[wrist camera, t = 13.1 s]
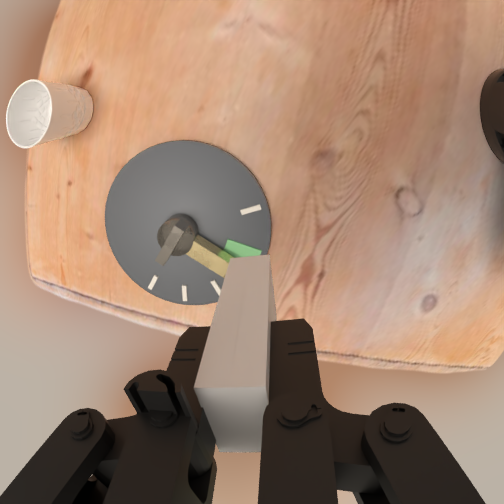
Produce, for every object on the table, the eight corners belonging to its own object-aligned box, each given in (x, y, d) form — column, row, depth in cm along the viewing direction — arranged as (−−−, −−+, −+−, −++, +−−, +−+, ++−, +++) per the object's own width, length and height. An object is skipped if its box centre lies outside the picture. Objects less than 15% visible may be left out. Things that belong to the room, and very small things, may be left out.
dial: (104, 143, 36) (98, 144, 34) (276, 143, 35) (276, 143, 34) (119, 292, 44) (115, 297, 43) (265, 306, 44) (264, 312, 42)
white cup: (73, 73, 32) (26, 67, 23) (108, 102, 34) (63, 101, 24) (45, 119, 34) (-2, 125, 25) (77, 149, 36) (31, 161, 27)
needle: (157, 236, 39) (143, 253, 34) (175, 204, 37) (162, 217, 32) (241, 288, 41) (237, 311, 36) (263, 260, 39) (261, 280, 35)
